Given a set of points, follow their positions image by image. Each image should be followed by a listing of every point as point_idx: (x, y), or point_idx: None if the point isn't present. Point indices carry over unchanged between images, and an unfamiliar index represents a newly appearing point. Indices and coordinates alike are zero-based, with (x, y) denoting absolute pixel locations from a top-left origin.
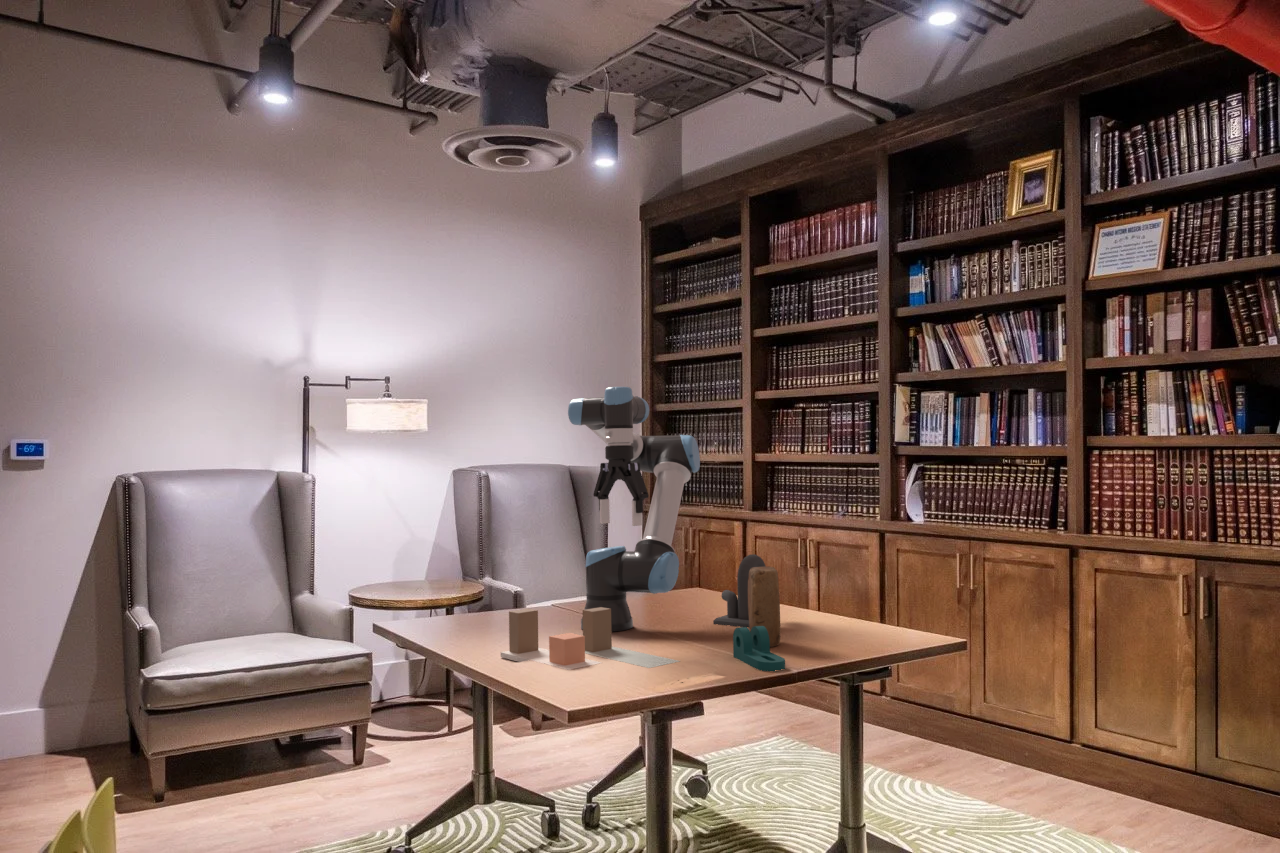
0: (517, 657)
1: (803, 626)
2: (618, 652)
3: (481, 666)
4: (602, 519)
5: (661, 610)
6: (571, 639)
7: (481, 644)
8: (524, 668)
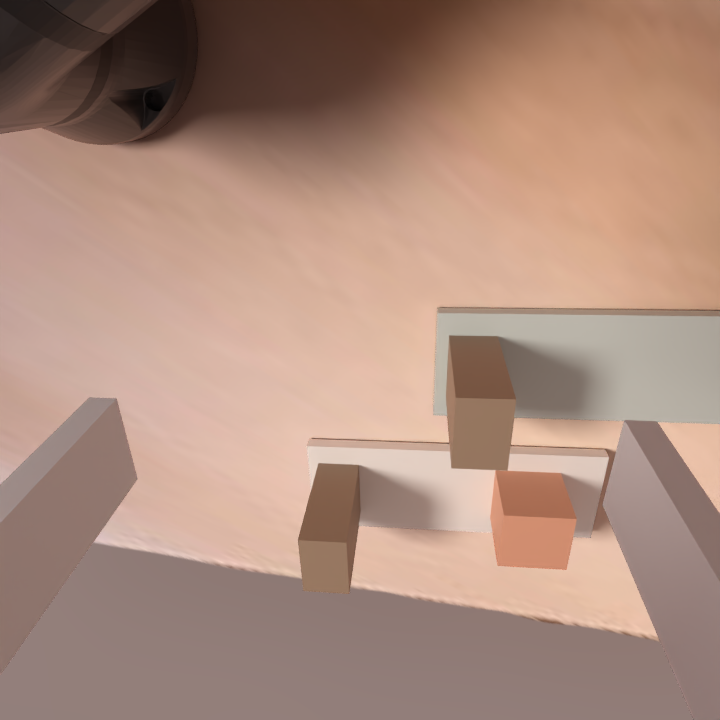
0: (384, 525)
1: None
2: (553, 356)
3: (363, 573)
4: (115, 498)
5: None
6: (569, 550)
7: (139, 462)
8: (449, 538)
